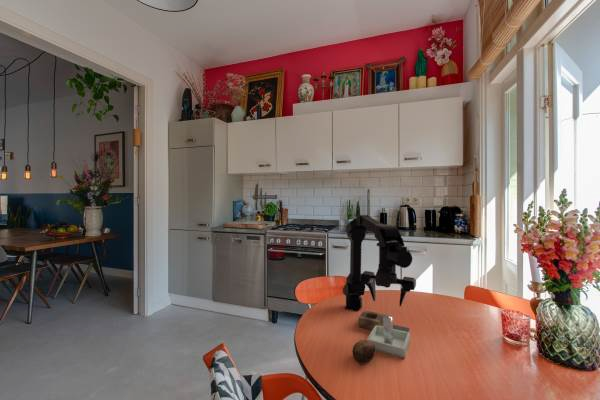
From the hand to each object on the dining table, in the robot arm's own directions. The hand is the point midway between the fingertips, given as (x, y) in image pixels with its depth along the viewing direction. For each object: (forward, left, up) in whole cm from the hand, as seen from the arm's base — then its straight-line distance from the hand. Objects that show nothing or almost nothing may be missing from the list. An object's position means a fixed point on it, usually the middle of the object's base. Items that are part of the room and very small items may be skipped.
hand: (387, 303), depth 98 cm
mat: (+3, +7, -12) cm, 15 cm away
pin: (+1, -5, -12) cm, 13 cm away
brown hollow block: (-7, +6, -12) cm, 16 cm away
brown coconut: (-3, -18, -13) cm, 22 cm away
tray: (+2, -5, -12) cm, 13 cm away
